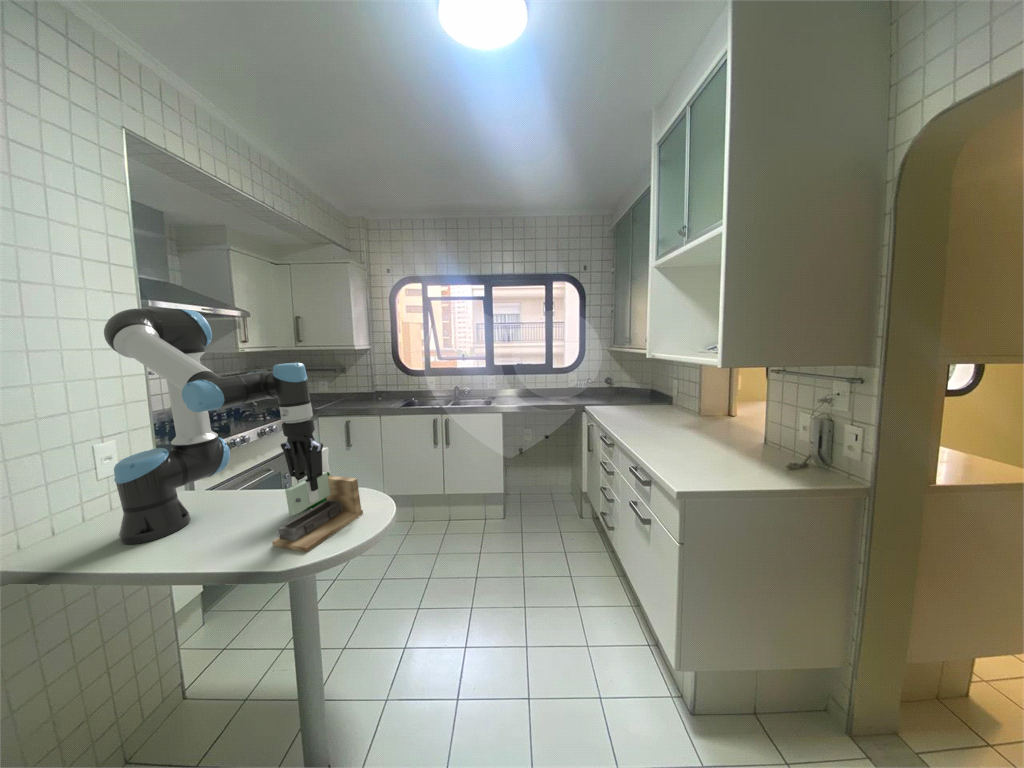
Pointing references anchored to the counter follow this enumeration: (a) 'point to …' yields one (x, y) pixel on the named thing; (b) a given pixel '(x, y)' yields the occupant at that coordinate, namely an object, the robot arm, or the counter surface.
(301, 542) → the wooden stand with tray
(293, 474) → the robot arm
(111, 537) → the counter surface
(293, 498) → the pale green rectangular block
